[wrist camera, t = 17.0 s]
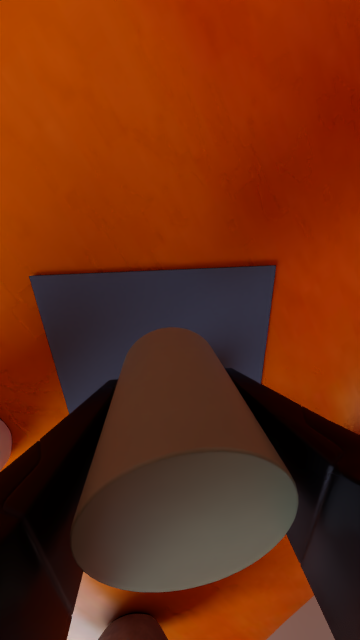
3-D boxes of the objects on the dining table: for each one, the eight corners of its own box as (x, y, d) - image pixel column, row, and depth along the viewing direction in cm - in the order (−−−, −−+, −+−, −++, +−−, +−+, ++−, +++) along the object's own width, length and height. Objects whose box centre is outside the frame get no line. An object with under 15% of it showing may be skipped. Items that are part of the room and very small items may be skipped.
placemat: (273, 265, 16) (276, 265, 16) (254, 420, 22) (255, 423, 22) (31, 275, 14) (28, 275, 14) (80, 444, 20) (79, 447, 20)
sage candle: (217, 323, 9) (321, 432, 3) (214, 401, 10) (282, 568, 5) (116, 330, 8) (35, 474, 3) (129, 412, 10) (93, 612, 4)
